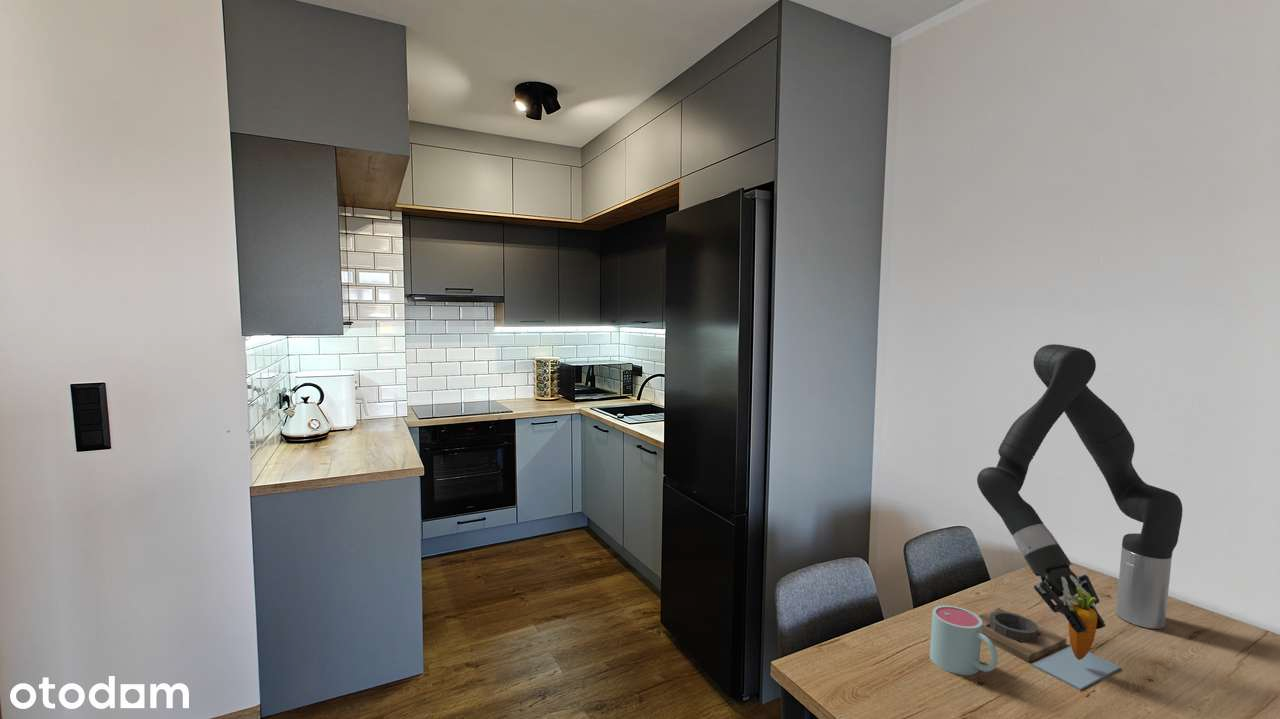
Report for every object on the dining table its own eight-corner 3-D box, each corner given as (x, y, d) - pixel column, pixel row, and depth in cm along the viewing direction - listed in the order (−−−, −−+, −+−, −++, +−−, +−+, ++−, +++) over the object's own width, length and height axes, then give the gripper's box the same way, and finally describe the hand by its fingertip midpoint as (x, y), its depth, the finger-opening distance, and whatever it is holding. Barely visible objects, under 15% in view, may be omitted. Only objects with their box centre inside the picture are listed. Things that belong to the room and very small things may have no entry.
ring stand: (998, 613, 145) (999, 600, 144) (1066, 644, 131) (1067, 630, 131) (960, 628, 137) (962, 613, 137) (1028, 662, 124) (1029, 646, 124)
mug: (919, 654, 126) (922, 610, 125) (950, 645, 130) (953, 602, 129) (978, 693, 114) (982, 643, 113) (1010, 682, 117) (1014, 634, 117)
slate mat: (1072, 646, 131) (1072, 645, 131) (1120, 668, 123) (1120, 666, 123) (1031, 665, 123) (1032, 663, 123) (1080, 690, 115) (1080, 688, 115)
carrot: (1098, 668, 120) (1105, 597, 118) (1071, 664, 121) (1078, 594, 119) (1085, 654, 125) (1092, 586, 123) (1059, 651, 125) (1065, 583, 124)
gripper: (1028, 546, 125) (1081, 629, 115) (1076, 539, 130) (1131, 619, 120) (1004, 559, 131) (1052, 640, 121) (1051, 553, 135) (1101, 630, 125)
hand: (1091, 629), depth 120 cm, fingers closed on carrot, 4 cm apart
